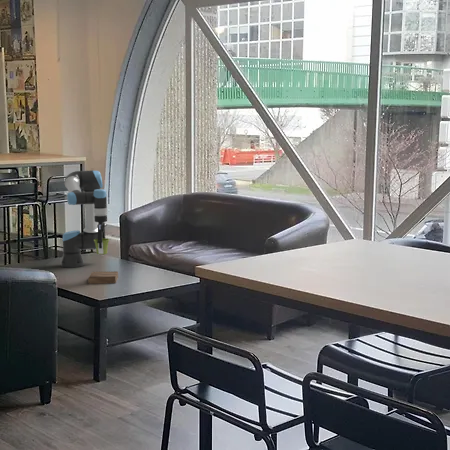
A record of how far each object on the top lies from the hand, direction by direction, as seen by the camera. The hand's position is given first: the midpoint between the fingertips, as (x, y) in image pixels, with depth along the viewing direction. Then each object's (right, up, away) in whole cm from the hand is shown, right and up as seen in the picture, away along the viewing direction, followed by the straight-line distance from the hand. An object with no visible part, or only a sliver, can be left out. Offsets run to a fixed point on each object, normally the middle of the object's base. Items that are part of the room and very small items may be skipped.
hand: (101, 252), depth 426 cm
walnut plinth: (+1, -17, +2) cm, 18 cm away
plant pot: (0, -1, 0) cm, 1 cm away
